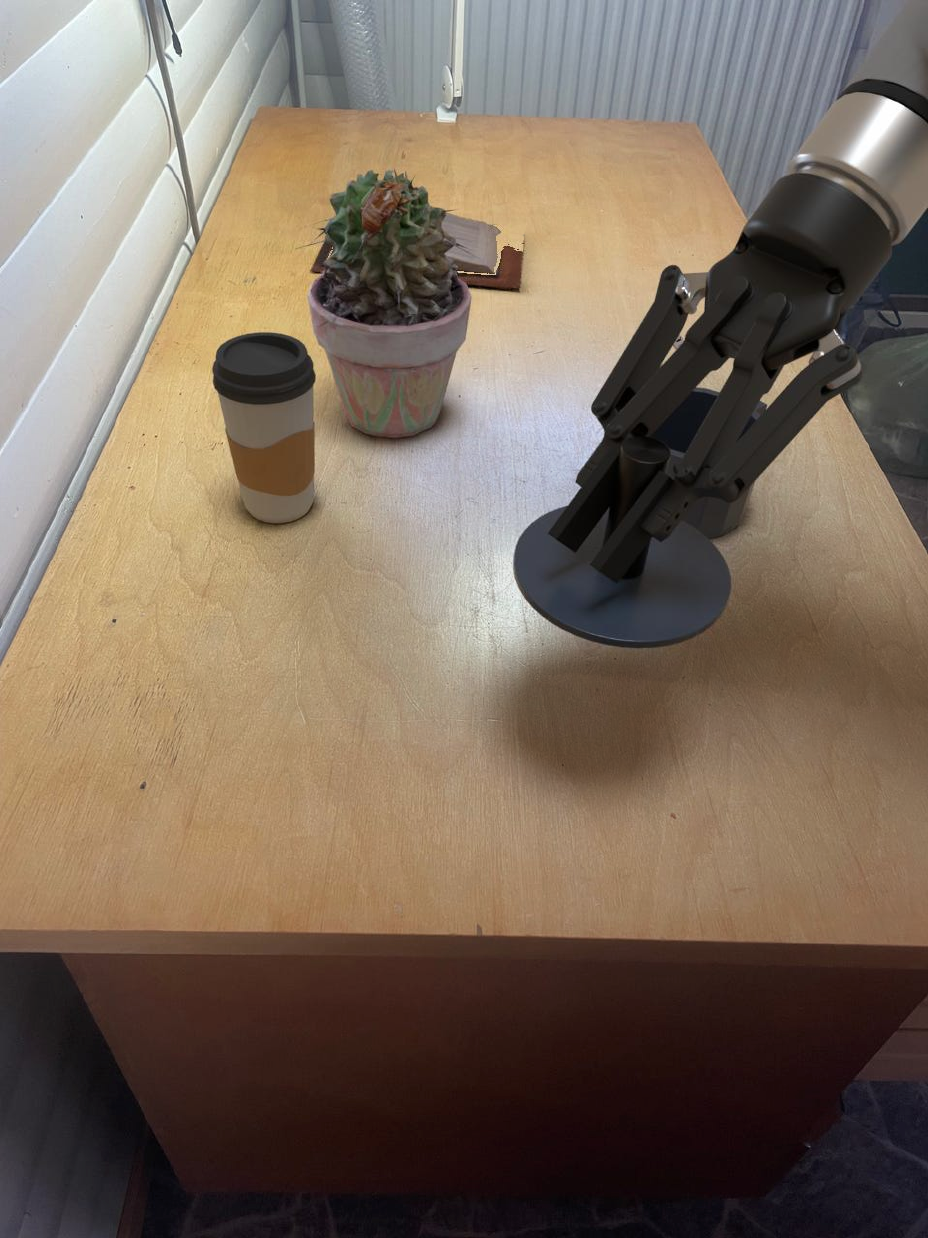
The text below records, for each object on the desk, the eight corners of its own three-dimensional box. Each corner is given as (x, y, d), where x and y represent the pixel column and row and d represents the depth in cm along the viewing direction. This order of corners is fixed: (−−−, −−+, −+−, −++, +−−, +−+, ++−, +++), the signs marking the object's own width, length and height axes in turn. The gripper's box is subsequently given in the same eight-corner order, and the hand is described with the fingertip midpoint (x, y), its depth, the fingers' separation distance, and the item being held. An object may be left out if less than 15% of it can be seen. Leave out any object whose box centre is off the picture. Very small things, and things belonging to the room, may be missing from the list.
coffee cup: (291, 467, 88) (275, 319, 78) (343, 507, 84) (334, 357, 73) (215, 500, 84) (188, 348, 73) (266, 544, 79) (245, 389, 69)
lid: (771, 595, 57) (819, 465, 51) (621, 691, 51) (653, 556, 44) (616, 491, 65) (640, 367, 58) (468, 564, 58) (476, 432, 52)
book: (336, 221, 135) (333, 189, 131) (526, 231, 133) (528, 199, 130) (309, 286, 121) (305, 253, 118) (519, 298, 120) (521, 265, 116)
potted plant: (429, 352, 106) (433, 115, 89) (507, 438, 93) (529, 181, 76) (279, 380, 100) (252, 131, 83) (340, 476, 87) (324, 206, 70)
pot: (788, 498, 88) (815, 421, 82) (662, 569, 79) (682, 489, 73) (689, 440, 95) (707, 365, 89) (563, 499, 86) (574, 421, 80)
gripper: (977, 299, 49) (705, 648, 52) (741, 208, 58) (522, 512, 61) (968, 217, 43) (661, 619, 46) (706, 129, 51) (464, 472, 55)
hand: (582, 557), depth 54 cm, fingers closed on lid, 3 cm apart
